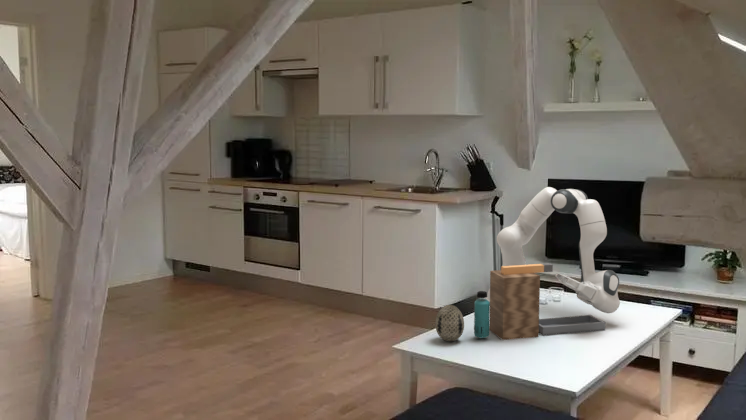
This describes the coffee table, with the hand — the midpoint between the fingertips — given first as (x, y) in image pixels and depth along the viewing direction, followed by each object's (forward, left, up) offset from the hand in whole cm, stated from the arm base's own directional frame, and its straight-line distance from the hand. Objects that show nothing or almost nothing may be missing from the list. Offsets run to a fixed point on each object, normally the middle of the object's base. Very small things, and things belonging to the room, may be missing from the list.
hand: (561, 277), depth 301 cm
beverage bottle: (-17, -34, -23) cm, 44 cm away
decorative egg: (-25, -45, -23) cm, 56 cm away
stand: (-11, -19, -23) cm, 32 cm away
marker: (-9, -14, +3) cm, 17 cm away
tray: (+2, +3, -23) cm, 23 cm away
